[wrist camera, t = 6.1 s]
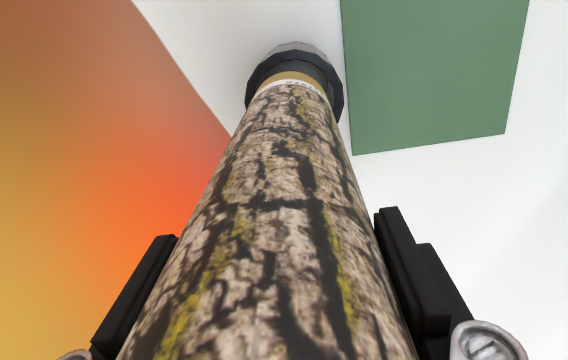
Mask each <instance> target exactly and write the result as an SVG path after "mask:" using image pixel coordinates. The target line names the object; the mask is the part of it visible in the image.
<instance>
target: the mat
mask: <svg viewBox="0 0 568 360" xmlns="http://www.w3.org/2000/svg"><path fill="white" fill-rule="evenodd" d="M340 5H341V18H342V31H343V43H344V56H345V68H346V81H347V93H348V106H349V119H350V131H351V144H352V155H353V156H356V155H363V154H370V153H377V152H383V151H390V150H397V149H404V148H411V147H418V146H424V145H431V144H438V143H445V142H452V141H459V140H465V139H472V138H479V137H486V136H493V135H500V134H504V133H505V128H506V122H507V117H508V112H509V106H510V101H511V96H512V90H513V85H514V80H515V75H516V69H517V64H518V59H519V53H520V48H521V43H522V37H523V32H524V27H525V22H526V16H527V11H528V6H529V0H340Z"/></svg>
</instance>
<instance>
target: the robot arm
mask: <svg viewBox="0 0 568 360" xmlns="http://www.w3.org/2000/svg"><path fill="white" fill-rule="evenodd" d="M374 232H375V235H376V237H377V240H378V243H379V246H380V249H381V252H382V255H383V257H384V260H385V263H386V266H387V269H388V272H389V275H390V277H391V280H392V283H393V286H394V289H395V292H396V295H397V297H398V300H399V303H400V306H401V309H402V312H403V315H404V317H405V320H406V323H407V326H408V329H409V332H410V335H411V337H412V340H413V343H414V346H415V349H416V352H417V355H418V357H419V360H529V359H528V356H527V353H526V351H525V350H524V348H523V347H522V345H521V344H520V342H519V341H518V340H516V339H515V338H514V337H513V336H512V335H511V334H510V333H509V332H507V331H505V330H504V329H502V328H501V327H499V326H497V325H494V324H492V323H489V322H486V321H480V320H475V319H474V318H473V316H472V314H471V312H470V311H469V309H468V307H467V305H466V304H465V302H464V300H463V298H462V297H461V295H460V293H459V291H458V290H457V288H456V286H455V284H454V283H453V281H452V279H451V277H450V276H449V274H448V272H447V271H446V269H445V267H444V265H443V264H442V262H441V260H440V258H439V257H438V255H437V253H436V251H435V250H434V248H433V247H432V245H431V244H430V243H422V244H416V242H415V240H414V238H413V236H412V234H411V232H410V230H409V228H408V226H407V224H406V222H405V220H404V218H403V216H402V214H401V213H400V211H399V209H398V207H397V206H394V207H386V208H380V209H379V213H374ZM178 240H179V238H178V237H176V236H175V235H174V234H169V235H161V236H157V237H156V238H155V239H154V240H153V242H152V244H151V245H150V247H149V249H148V250H147V252H146V253H145V255H144V256H143V258H142V260H141V261H140V263H139V264H138V266H137V267H136V269H135V271H134V272H133V274H132V275H131V277H130V279H129V280H128V282H127V283H126V285H125V287H124V288H123V290H122V292H121V293H120V295H119V296H118V298H117V300H116V301H115V303H114V304H113V306H112V307H111V309H110V311H109V312H108V314H107V315H106V317H105V318H104V320H103V322H102V323H101V325H100V327H99V328H98V330H97V331H96V333H95V335H94V336H93V338H92V339H91V341H90V342H91V343H92V345H91V347H90V349H89V350H84V349H78V350H74V351H71V352H68V353H67V354H65V355H63V356H61V357H60V358H58V359H57V360H116V358H117V356H118V354H119V353H120V351H121V349H122V347H123V345H124V343H125V341H126V339H127V337H128V335H129V333H130V332H131V330H132V328H133V326H134V324H135V322H136V320H137V318H138V316H139V314H140V312H141V311H142V309H143V307H144V305H145V303H146V301H147V299H148V297H149V295H150V293H151V291H152V290H153V288H154V286H155V284H156V282H157V280H158V278H159V276H160V274H161V272H162V270H163V269H164V267H165V265H166V263H167V261H168V259H169V257H170V255H171V253H172V251H173V249H174V248H175V246H176V244H177V242H178Z"/></svg>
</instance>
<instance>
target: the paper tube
mask: <svg viewBox="0 0 568 360" xmlns="http://www.w3.org/2000/svg"><path fill="white" fill-rule="evenodd" d="M116 360H419V357H418V355H417V352H416V349H415V346H414V343H413V340H412V337H411V335H410V332H409V329H408V326H407V323H406V320H405V317H404V315H403V312H402V309H401V306H400V303H399V300H398V297H397V295H396V292H395V289H394V286H393V283H392V280H391V277H390V275H389V272H388V269H387V266H386V263H385V260H384V257H383V255H382V252H381V249H380V246H379V243H378V240H377V237H376V235H375V232H374V229H373V226H372V223H371V220H370V217H369V215H368V212H367V209H366V206H365V203H364V200H363V197H362V195H361V192H360V189H359V186H358V183H357V180H356V177H355V175H354V172H353V169H352V166H351V163H350V160H349V157H348V155H347V152H346V149H345V146H344V143H343V140H342V137H341V135H340V132H339V129H338V126H337V123H336V120H335V117H334V115H333V112H332V109H331V106H330V104H329V101H328V98H327V96H326V93H325V91H324V90H323V88H322V87H321V85H320V84H319V83H318V82H317V81H316V80H315V79H313V78H312V77H310V76H308V75H306V74H304V73H301V72H295V71H286V72H281V73H278V74H275V75H273V76H271V77H269V78H268V79H267V80H265V81H264V82H263V83H262V84H261V86H260V87H259V88H258V90H257V92H256V94H255V96H254V97H253V99H252V101H251V103H250V104H249V106H248V108H247V110H246V112H245V114H244V116H243V118H242V120H241V122H240V124H239V125H238V127H237V129H236V131H235V133H234V135H233V137H232V139H231V141H230V143H229V145H228V147H227V148H226V150H225V152H224V154H223V156H222V158H221V160H220V162H219V164H218V166H217V167H216V169H215V171H214V173H213V175H212V177H211V179H210V181H209V183H208V185H207V187H206V189H205V190H204V192H203V194H202V196H201V198H200V200H199V202H198V204H197V206H196V208H195V209H194V211H193V213H192V215H191V217H190V219H189V221H188V223H187V225H186V227H185V228H184V230H183V232H182V234H181V236H180V238H179V240H178V242H177V244H176V246H175V248H174V249H173V251H172V253H171V255H170V257H169V259H168V261H167V263H166V265H165V267H164V269H163V270H162V272H161V274H160V276H159V278H158V280H157V282H156V284H155V286H154V288H153V290H152V291H151V293H150V295H149V297H148V299H147V301H146V303H145V305H144V307H143V309H142V311H141V312H140V314H139V316H138V318H137V320H136V322H135V324H134V326H133V328H132V330H131V332H130V333H129V335H128V337H127V339H126V341H125V343H124V345H123V347H122V349H121V351H120V353H119V354H118V356H117V358H116Z"/></svg>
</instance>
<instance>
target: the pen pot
mask: <svg viewBox="0 0 568 360" xmlns="http://www.w3.org/2000/svg"><path fill="white" fill-rule="evenodd" d="M295 59H296V60H300V61H304V62H309V63H312V64H314V65H315V66H316V67H318V68H319V69H320V70H321V71H323V72H324V73H325V74H326V76H327V84H328V87H327V91H326V96H327V98H328V101H329V104H330V106H331V109H332V112H333V115H334V117H335V120H336V123H337V124H338V122H339V119H340V116H341V113H342V110H343V107H344V97H343V85H342V83H341V81H340V79H339V77H338V75H337V74H336V72H335V70H334V68H333V66H332V65H331V63H330V62H329V60H328V59H327V57H326V56H325V55H324V54H323V53H322V52H320V51H319V50H318V49H316V48H315V47H314V46H312V45H309V44H304V43H300V42H292V43H287V44H282V45H279V46H278V47H277V48H275V49H274V50H272V51H271V52H270V53H268V54H267V55H266V56H265V57H264V58H263V60H262V61H261V62H260V63H259V64H258V66H257V67H256V69H255V70H254V72H253V74H252V75H251V77H250V79H249V80H248V83H247V88H246V95H245V106H246V110H247V108H248V106H249V104H250V103H251V101H252V99H253V97H254V96H255V94H256V92H257V90H258V88H259V87H260V86H261V84H262V83H263V80H264V74H265V72H266V71H267V70H269V69H270V68H271V67H273V66H274V65H276V64H277V63H279V62H284V61H289V60H295Z"/></svg>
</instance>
